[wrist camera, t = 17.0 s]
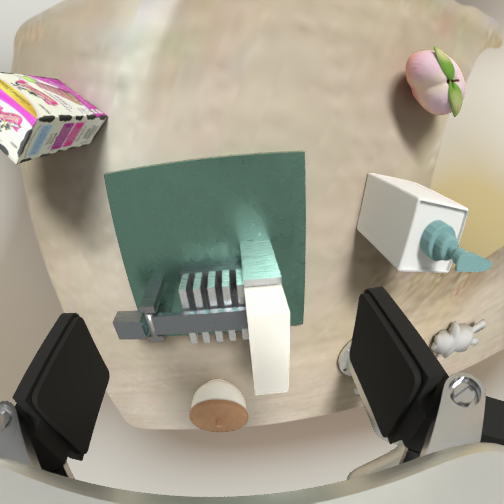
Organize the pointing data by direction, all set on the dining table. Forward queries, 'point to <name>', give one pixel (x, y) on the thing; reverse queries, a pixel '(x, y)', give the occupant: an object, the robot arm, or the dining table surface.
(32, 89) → the candy bar box
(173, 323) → the grey capped bar
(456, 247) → the soap bottle
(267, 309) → the plain white rectangular block
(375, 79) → the dining table surface
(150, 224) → the green base metal fixture
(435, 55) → the decorative fruit
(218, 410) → the lidded jar
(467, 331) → the bunny figurine
